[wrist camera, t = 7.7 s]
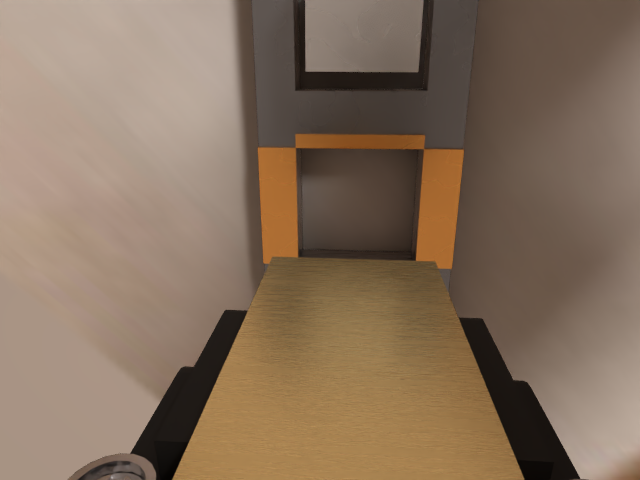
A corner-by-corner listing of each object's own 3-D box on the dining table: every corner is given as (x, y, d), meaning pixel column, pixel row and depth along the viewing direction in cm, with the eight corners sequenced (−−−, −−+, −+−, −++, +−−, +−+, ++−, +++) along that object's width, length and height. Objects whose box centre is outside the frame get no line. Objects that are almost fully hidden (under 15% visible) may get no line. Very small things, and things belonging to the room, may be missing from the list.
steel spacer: (411, -30, 20) (427, -60, 15) (405, 70, 21) (418, 72, 17) (317, -30, 20) (304, -58, 16) (316, 70, 22) (305, 71, 17)
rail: (479, -104, 19) (492, -122, 17) (429, 407, 27) (434, 432, 26) (255, -97, 19) (244, -115, 18) (277, 399, 28) (271, 423, 26)
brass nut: (435, 261, 11) (586, 629, 4) (422, 397, 13) (516, 863, 5) (272, 256, 12) (121, 591, 4) (276, 390, 13) (169, 823, 6)
